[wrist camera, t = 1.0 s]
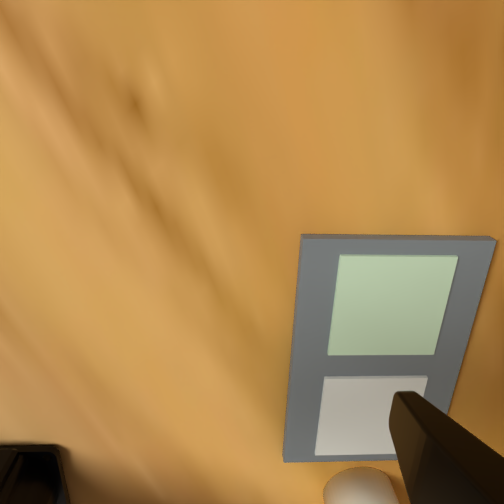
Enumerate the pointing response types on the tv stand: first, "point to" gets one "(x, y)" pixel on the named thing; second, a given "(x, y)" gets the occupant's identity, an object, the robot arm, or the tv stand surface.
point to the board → (376, 336)
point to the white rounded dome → (360, 487)
